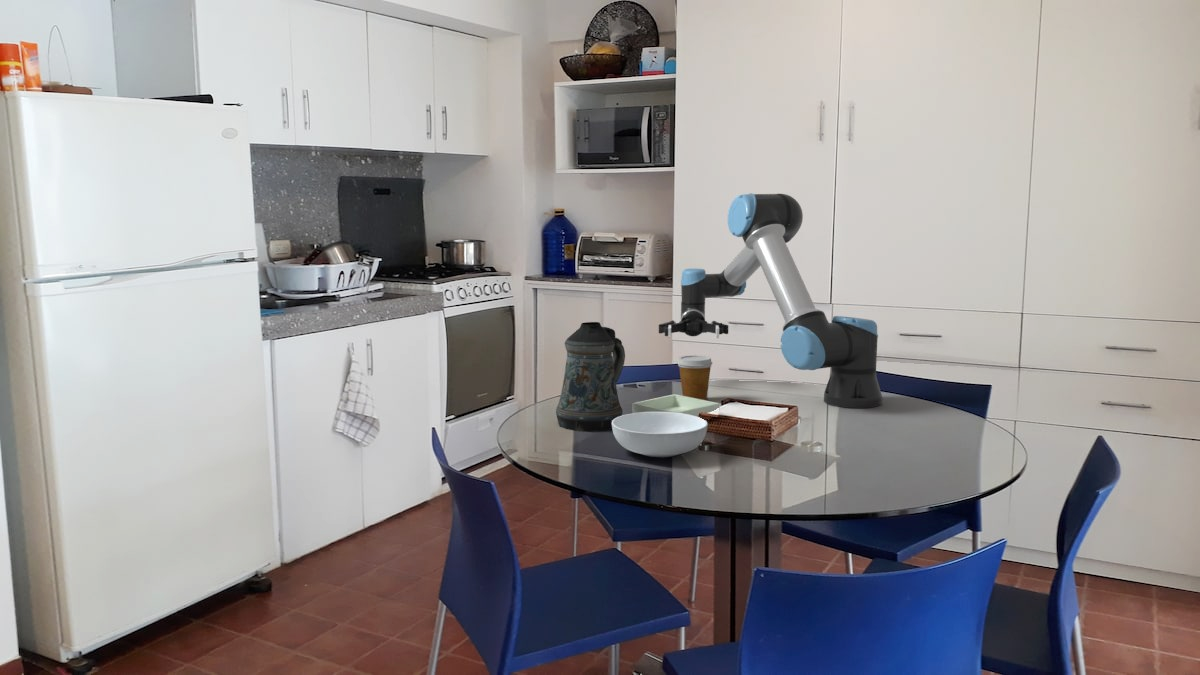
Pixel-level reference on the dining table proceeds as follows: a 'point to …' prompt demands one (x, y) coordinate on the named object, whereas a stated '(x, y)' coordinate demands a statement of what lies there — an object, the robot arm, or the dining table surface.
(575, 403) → the beer stein
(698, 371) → the disposable coffee cup
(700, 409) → the tray
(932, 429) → the dining table surface
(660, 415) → the serving bowl
